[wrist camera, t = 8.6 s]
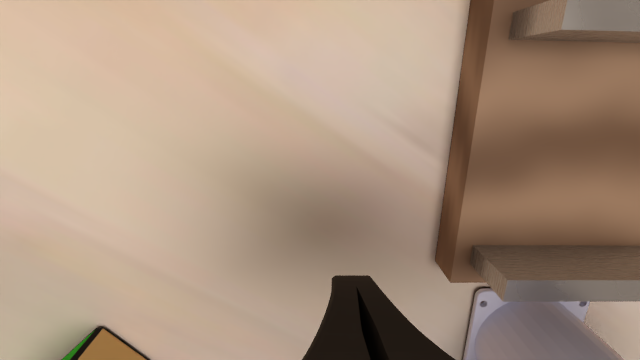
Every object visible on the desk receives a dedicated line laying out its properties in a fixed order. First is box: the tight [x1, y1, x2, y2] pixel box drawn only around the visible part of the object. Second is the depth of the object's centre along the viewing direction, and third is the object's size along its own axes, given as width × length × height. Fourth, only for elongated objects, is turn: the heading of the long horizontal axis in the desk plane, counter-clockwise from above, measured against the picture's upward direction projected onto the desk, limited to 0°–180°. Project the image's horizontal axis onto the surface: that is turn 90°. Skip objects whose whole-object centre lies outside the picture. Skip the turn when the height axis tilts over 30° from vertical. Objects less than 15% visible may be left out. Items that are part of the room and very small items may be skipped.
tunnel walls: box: [470, 0, 640, 302], centre depth 16 cm, size 13×11×4 cm
